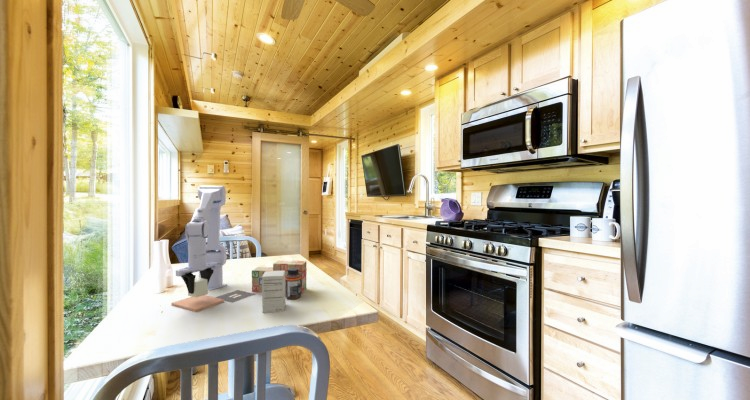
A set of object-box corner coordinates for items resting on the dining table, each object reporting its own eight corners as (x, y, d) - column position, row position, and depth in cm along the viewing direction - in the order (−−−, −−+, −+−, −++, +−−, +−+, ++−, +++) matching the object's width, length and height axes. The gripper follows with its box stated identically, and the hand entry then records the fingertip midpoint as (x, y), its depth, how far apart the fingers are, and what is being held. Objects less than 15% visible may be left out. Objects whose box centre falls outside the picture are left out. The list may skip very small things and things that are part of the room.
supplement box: (265, 305, 114) (264, 271, 114) (286, 303, 115) (285, 270, 115) (261, 313, 107) (261, 276, 106) (284, 311, 108) (283, 275, 108)
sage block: (188, 295, 114) (187, 280, 114) (200, 292, 118) (199, 277, 118) (195, 297, 112) (195, 282, 112) (207, 294, 116) (207, 279, 116)
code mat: (213, 298, 121) (213, 297, 121) (237, 290, 131) (237, 289, 131) (232, 303, 116) (232, 302, 116) (256, 294, 126) (256, 293, 126)
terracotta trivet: (171, 305, 113) (171, 302, 113) (200, 296, 123) (200, 294, 123) (195, 312, 107) (195, 309, 107) (223, 302, 117) (223, 299, 117)
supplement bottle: (287, 294, 125) (287, 266, 125) (302, 294, 126) (302, 266, 125) (284, 300, 119) (283, 270, 119) (299, 299, 120) (299, 270, 119)
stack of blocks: (251, 292, 128) (251, 263, 128) (258, 288, 135) (258, 259, 134) (302, 294, 127) (302, 264, 126) (306, 289, 133) (306, 260, 133)
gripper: (184, 259, 106) (184, 298, 107) (222, 252, 119) (222, 287, 119) (171, 257, 109) (172, 295, 110) (210, 250, 122) (210, 284, 123)
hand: (197, 291), depth 115 cm, fingers closed on sage block, 4 cm apart
